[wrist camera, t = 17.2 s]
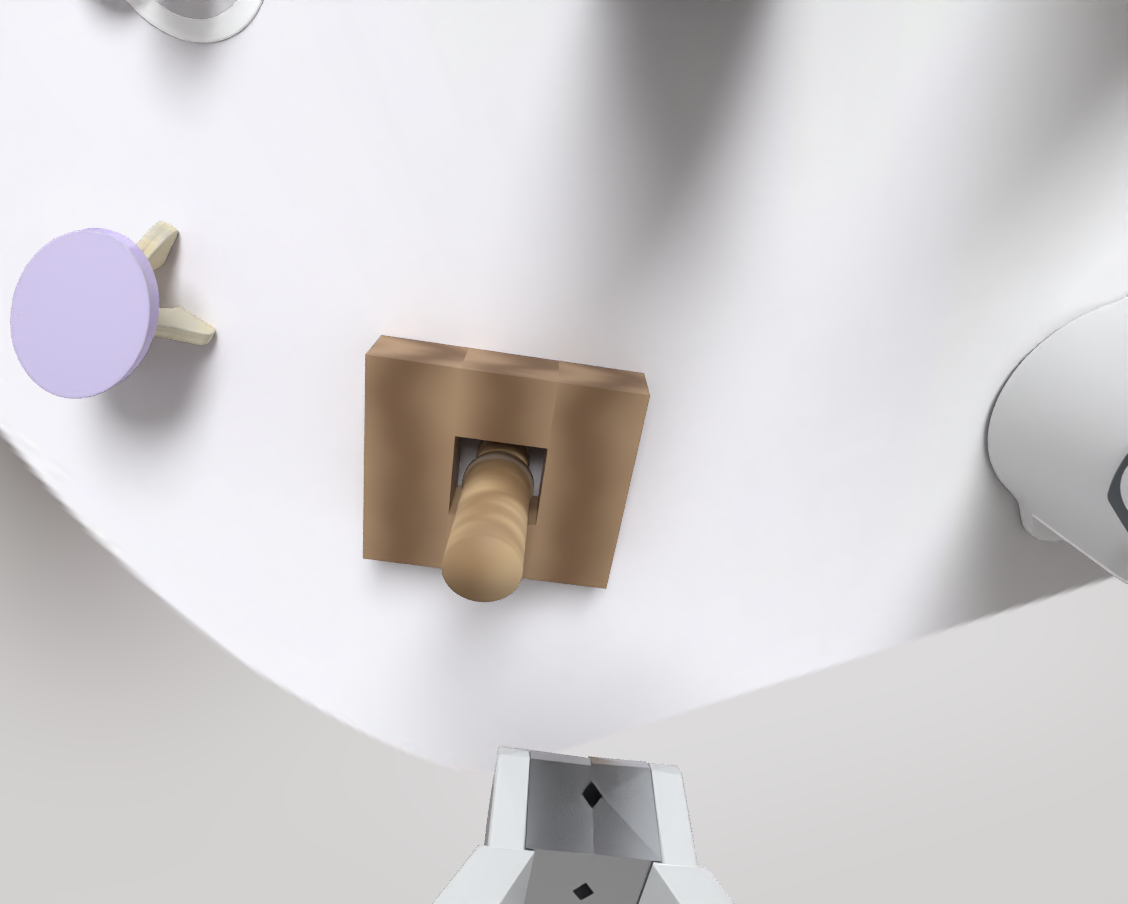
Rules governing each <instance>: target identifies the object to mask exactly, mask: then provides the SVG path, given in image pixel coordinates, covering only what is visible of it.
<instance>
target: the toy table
mask: <svg viewBox="0 0 1128 904" xmlns="http://www.w3.org/2000/svg"><path fill="white" fill-rule="evenodd" d="M177 235H178V230H177V229H176V228H174V227H173V226H171V225H170V224H168V223H167V222H164V221H160V222H157V223H156V224H155V225H154V226H152V227H151V228H150V229H149V231H148V232H147V233H146V234H145V235H144V236H143V237H142V238H141V239H140V241H139V242H138V243H137V244H135V243H134V242H133V241H131V240H130V239H129V238H127V237H126V236H124V235H122V234H119V233H117V232H114V231H111V230H107V229H102V228H88V229H83V230H78V231H74V232H70V233H67V234H64V235H62V236H59V237H57V238H55V239H53V240H52V241H50V242H49V243H48V244H46V245H45V246H44V247H42V248H41V249H40V250H39V251H38V252H37V253H36V254H35V255H34V257H33V258H32V259H31V260H30V262H29V263H28V264H27V265H26V267H25V269H24V271H23V272H22V274H21V276H20V279H19V281H18V283H17V286H16V288H15V291H14V295H13V299H12V307H11V317H10V324H11V337H12V342H13V346H14V350H15V352H16V354H17V357H18V360H19V361H20V363H21V365H22V367H23V368H24V370H25V371H26V373H27V374H28V375H29V377H30V378H31V379H32V380H33V381H34V382H35V383H36V384H38V385H39V386H40V387H41V388H43V389H44V390H46V391H48V392H50V393H52V394H54V395H57V396H60V397H64V398H87V397H91V396H95V395H97V394H100V393H102V392H105V391H107V390H108V389H110V388H112V387H113V386H115V385H116V384H118V383H120V382H121V381H123V380H124V379H125V378H126V377H128V376H129V375H130V374H131V373H132V372H133V371H134V370H135V368H136V367H137V366H138V365H139V364H140V362H141V361H142V360H143V358H144V357H145V355H146V353H147V351H148V349H149V347H150V345H151V342H152V340H153V338H154V337H160V338H167V339H172V340H177V341H181V342H186V343H191V344H196V345H206V344H208V343H209V342H210V341H211V339H212V338H213V336H214V334H215V328H213V327H212V326H211V325H209V324H207V323H206V322H204V321H203V320H201V319H200V318H198V317H196V316H195V315H193V314H192V313H190V312H189V311H187V310H186V309H184V308H182V307H181V306H177V307H174V308H159V291H158V284H157V281H156V277H155V274H154V272H153V271H155V270H156V269H158V268H159V267H161V266H162V265H163V264H164V262H165V260H166V258H167V256H168V254H169V252H170V250H171V247H172V245H173V243H174V241H175V239H176V237H177Z"/></svg>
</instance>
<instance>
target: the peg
mask: <svg viewBox="0 0 1128 904" xmlns="http://www.w3.org/2000/svg"><path fill="white" fill-rule="evenodd" d="M528 466H529V451H528V449H527V447H526V446H524V445H517V444H509V443H502V442H495V441H488V440H484V441H483V442H482V443H481V445H480V447H479V449H478V452H477V456H476V459H474V460H473V461H472V462H471V463H470V464H469V465H468V467H467V468H466V470H465V473H464V476H463V480H462V492H461V496H460V500H459V503H458V507H457V510H456V514H455V517H454V521H453V525H452V528H451V532H450V535H449V539H448V543H447V546H446V550H445V553H444V557H443V560H442V574H443V577H444V580H445V582H446V583H447V585H448V586H449V587H450V588H451V589H452V590H453V591H454V592H455V593H457V594H458V595H460V596H462V597H464V598H466V599H469V600H472V601H478V602H491V601H496V600H500V599H502V598H505V597H507V596H508V595H510V594H511V593H512V592H513V591H515V589H516V588H517V587H518V585H519V584H520V581H521V578H522V573H523V563H524V553H525V543H526V533H527V523H528V513H529V503H530V500H531V498H532V495H533V487H534V482H533V476H532V474H531V472H530V470H529V468H528Z"/></svg>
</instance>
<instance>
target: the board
mask: <svg viewBox="0 0 1128 904" xmlns="http://www.w3.org/2000/svg"><path fill="white" fill-rule="evenodd" d="M649 398H650V394H649V390H648V386H647V383H646V379H645V376H644V373H638V372H631V371H624V370H617V369H610V368H604V367H597V366H590V365H583V364H576V363H569V362H562V361H555V360H549V359H542V358H535V357H528V356H521V355H514V354H507V353H500V352H493V351H487V350H480V349H473V348H466V347H459V346H452V345H445V344H438V343H431V342H425V341H418V340H411V339H404V338H397V337H390V336H383V335H381V336H380V338H379V339H378V340H377V341H376V342H375V344H374V345H373V346H372V347H371V349H370V350H369V351H368V352H367V353H366V355H365V435H364V517H363V559H371V560H379V561H387V562H395V563H403V564H412V565H420V566H428V567H436V568H442V560H443V557H444V553H445V550H446V546H447V543H448V539H449V535H450V532H451V528H452V525H453V521H454V517H455V514H456V510H457V507H458V503H459V500H460V496H461V492H462V486H457V479H458V468H459V456H460V445H461V437H466V438H473V439H480V440H488V441H495V442H502V443H509V444H517V445H524V446H531V447H539V448H546V450H545V456H544V462H543V469H542V475H541V482H540V488H539V495H538V496H532V498H531V500H530V503H529V513H528V523H527V533H526V543H525V553H524V563H523V573H522V578H524V579H532V580H540V581H548V582H556V583H564V584H573V585H581V586H589V587H597V588H605V589H606V587H607V583H608V578H609V574H610V569H611V565H612V561H613V556H614V552H615V547H616V543H617V539H618V534H619V530H620V525H621V521H622V517H623V512H624V508H625V503H626V499H627V494H628V490H629V486H630V481H631V477H632V472H633V468H634V464H635V459H636V455H637V450H638V446H639V442H640V437H641V433H642V428H643V424H644V420H645V415H646V411H647V406H648V402H649Z"/></svg>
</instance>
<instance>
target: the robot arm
mask: <svg viewBox="0 0 1128 904" xmlns="http://www.w3.org/2000/svg"><path fill="white" fill-rule="evenodd" d="M988 451H989V457H990V461H991V464H992V467H993V469H994V471H995V473H996V475H997V477H998V478H999V480H1000V481H1001V482H1002V483H1003V485H1004V486H1005V487H1006V488H1007V489H1008V490H1009V491H1010V492H1011V493H1012V494H1013V495H1014V497H1015V498H1016V499H1017V501H1018V503H1019V509H1020V515H1021V520H1022V524H1023V526H1024V528H1025V530H1026V531H1027V532H1028V533H1029V534H1031V535H1032V536H1034V537H1035V538H1037V539H1038V540H1041V541H1067V542H1068V543H1069V544H1071V545H1072V546H1074V547H1075V548H1076V549H1078V550H1079V551H1080V552H1082V553H1083V554H1084V555H1086V556H1087V557H1089V558H1090V559H1091V560H1093V561H1094V562H1095V563H1097V564H1098V565H1100V566H1101V567H1102V568H1104V569H1105V570H1107V571H1108V572H1109V573H1111V574H1112V575H1114V576H1115V577H1116V578H1118V579H1119V580H1121V581H1122V582H1124V583H1127V584H1128V296H1126V297H1124V298H1122V299H1119V300H1117V301H1114V302H1112V303H1109V304H1107V305H1104V306H1102V307H1099V308H1097V309H1094V310H1092V311H1090V312H1088V313H1085V314H1083V315H1082V316H1080V317H1078V318H1076V319H1074V320H1072V321H1071V322H1069V323H1067V324H1066V325H1064V326H1063V327H1061V328H1060V329H1058V330H1057V331H1055V332H1054V333H1053V334H1051V335H1050V336H1049V337H1047V338H1046V339H1045V340H1044V341H1043V342H1041V343H1040V344H1039V345H1038V346H1037V347H1036V348H1035V349H1034V350H1033V351H1032V352H1031V353H1030V354H1029V355H1028V356H1027V357H1026V358H1025V359H1024V360H1023V361H1022V362H1021V364H1020V365H1019V366H1018V367H1017V368H1016V370H1015V371H1014V372H1013V374H1012V375H1011V377H1010V378H1009V379H1008V381H1007V383H1006V384H1005V386H1004V388H1003V389H1002V391H1001V393H1000V395H999V397H998V399H997V402H996V404H995V407H994V409H993V412H992V416H991V419H990V424H989V430H988ZM433 904H734V903H733V901H732V900H731V899H730V898H729V896H728V895H727V893H726V892H725V891H724V889H723V888H722V887H721V886H720V884H719V883H718V881H717V880H716V879H715V878H714V876H713V875H712V873H711V872H710V871H709V869H707V868H704V867H698V863H697V857H696V852H695V846H694V840H693V835H692V828H691V823H690V818H689V812H688V806H687V800H686V795H685V789H684V783H683V777H682V772H681V771H680V769H679V767H678V766H674V765H663V764H653V763H646V762H642V761H631V760H620V759H609V758H598V757H588V758H585V757H578V756H570V755H563V754H556V753H548V752H541V751H534V750H530V751H529V750H526V749H518V748H509V747H500V746H499V748H498V753H497V759H496V766H495V772H494V778H493V784H492V791H491V797H490V804H489V811H488V818H487V825H486V834H485V843H484V846H482V845H478V846H477V847H476V849H475V850H474V852H473V853H472V854H471V855H470V856H469V858H468V859H467V860H466V862H465V863H464V864H463V865H462V867H461V868H460V869H459V870H458V872H457V873H456V874H455V876H454V877H453V878H452V879H451V881H450V882H449V883H448V885H447V886H446V887H445V888H444V890H443V891H442V892H441V894H440V895H439V896H438V897H437V899H436V900H435V901H434V903H433Z"/></svg>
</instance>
